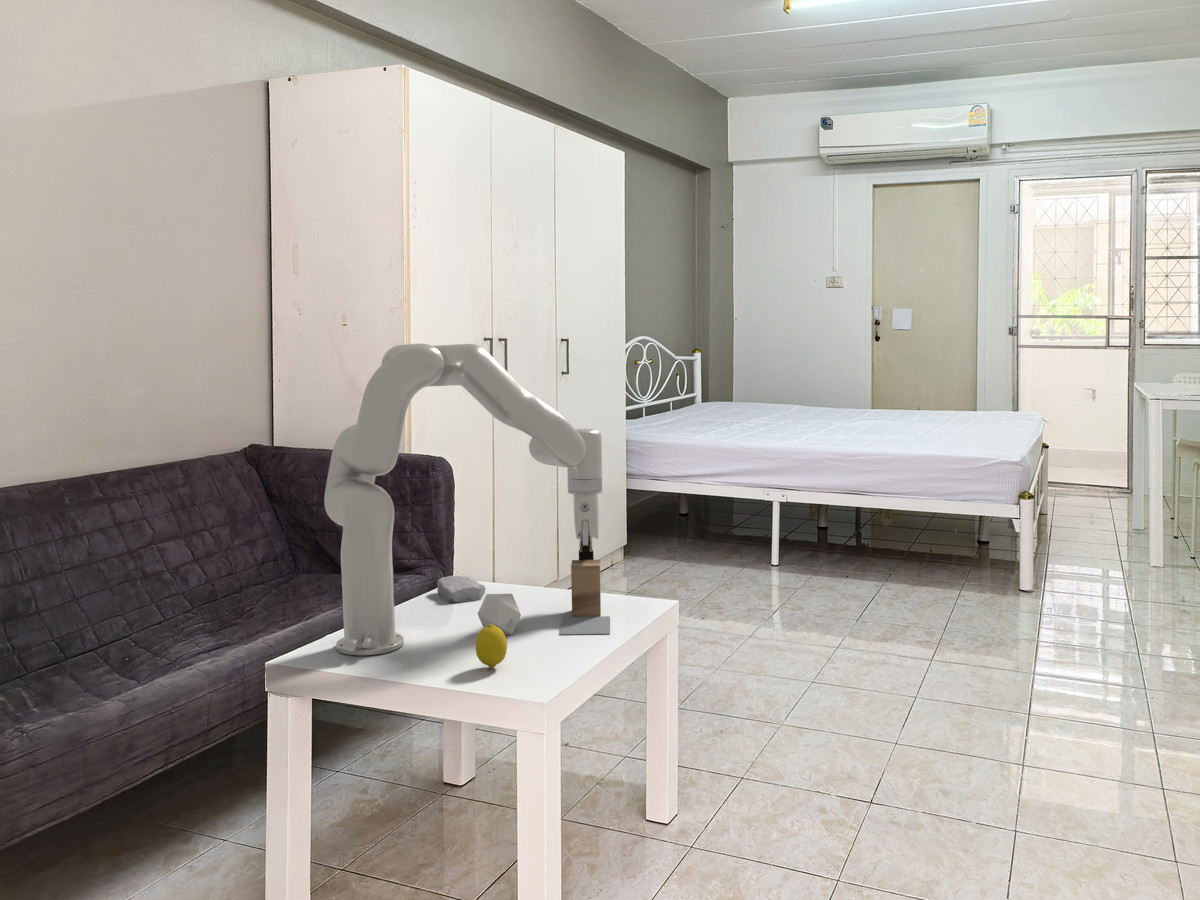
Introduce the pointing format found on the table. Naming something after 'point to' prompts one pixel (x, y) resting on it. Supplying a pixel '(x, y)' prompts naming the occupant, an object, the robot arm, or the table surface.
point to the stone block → (460, 589)
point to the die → (500, 612)
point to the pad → (585, 625)
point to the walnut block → (585, 588)
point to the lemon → (491, 645)
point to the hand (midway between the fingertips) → (586, 568)
